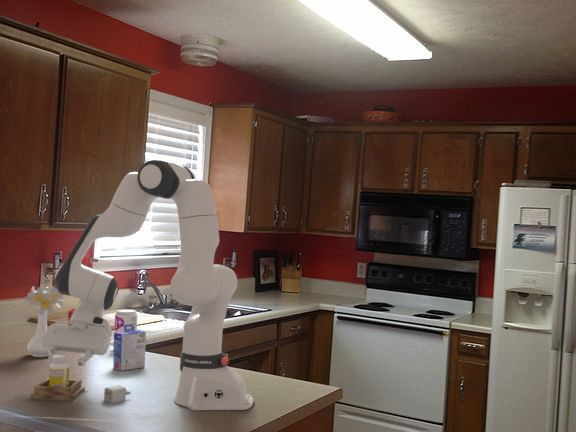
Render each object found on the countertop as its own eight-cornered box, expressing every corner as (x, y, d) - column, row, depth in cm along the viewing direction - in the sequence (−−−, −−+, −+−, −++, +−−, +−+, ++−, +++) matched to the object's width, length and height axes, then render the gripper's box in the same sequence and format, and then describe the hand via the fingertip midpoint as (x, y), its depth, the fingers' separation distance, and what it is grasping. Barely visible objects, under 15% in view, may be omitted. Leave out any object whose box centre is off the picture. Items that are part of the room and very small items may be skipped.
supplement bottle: (61, 386, 199) (63, 353, 199) (72, 390, 195) (74, 356, 195) (44, 390, 195) (46, 355, 195) (55, 393, 191) (57, 358, 191)
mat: (88, 392, 201) (88, 390, 201) (76, 402, 190) (76, 401, 190) (40, 389, 201) (40, 388, 201) (25, 399, 190) (26, 398, 190)
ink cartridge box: (136, 364, 239) (138, 322, 239) (145, 367, 235) (147, 325, 235) (111, 368, 231) (113, 325, 231) (120, 371, 228) (122, 327, 228)
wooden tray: (84, 391, 200) (85, 380, 200) (73, 400, 190) (74, 388, 190) (43, 388, 200) (44, 377, 200) (30, 398, 190) (30, 386, 190)
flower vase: (30, 362, 233) (33, 289, 233) (16, 352, 248) (20, 283, 248) (68, 359, 240) (72, 288, 240) (53, 349, 255) (56, 282, 255)
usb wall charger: (103, 401, 192) (104, 387, 192) (124, 397, 197) (125, 383, 197) (112, 404, 190) (113, 390, 190) (133, 400, 195) (133, 386, 195)
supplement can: (119, 353, 255) (121, 312, 255) (109, 349, 261) (111, 309, 261) (139, 351, 260) (141, 311, 260) (129, 347, 267) (130, 308, 266)
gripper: (49, 315, 208) (28, 353, 198) (111, 320, 203) (94, 360, 194) (56, 327, 212) (36, 365, 203) (117, 333, 208) (100, 372, 198)
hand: (65, 363), depth 198 cm, fingers open, 8 cm apart
